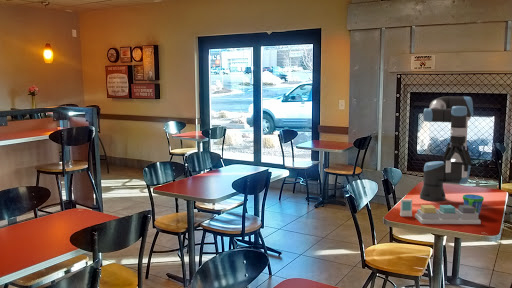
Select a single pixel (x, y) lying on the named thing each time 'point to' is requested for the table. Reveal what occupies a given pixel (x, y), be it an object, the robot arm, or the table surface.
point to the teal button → (447, 209)
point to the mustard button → (428, 209)
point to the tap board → (447, 217)
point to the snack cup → (473, 201)
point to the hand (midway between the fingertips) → (456, 174)
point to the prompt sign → (406, 207)
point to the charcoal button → (466, 209)
